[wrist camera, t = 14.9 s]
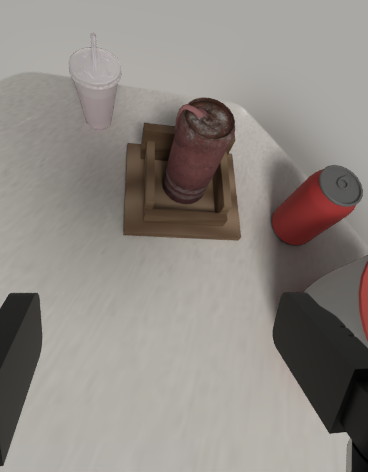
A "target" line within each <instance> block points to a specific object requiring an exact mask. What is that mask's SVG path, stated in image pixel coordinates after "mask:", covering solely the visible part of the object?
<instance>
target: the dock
mask: <svg viewBox="0 0 368 472" xmlns="http://www.w3.org/2000/svg"><path fill="white" fill-rule="evenodd" d="M175 132H176V130H175V126H167V125H158V124H150V123H144V128H143V136H142V144H132V143H128V145H127V167H126V190H125V212H124V235H133V236H154V237H176V238H197V239H218V240H239V239H240V238H241V233H240V223H239V214H238V205H237V195H236V186H235V177H234V168H233V158H232V154H228V153H229V151H230V150H231V148H232V146H233V144H234V142H235V134H234V136H233V138H232V140H231V142H230V144H229V146H228V148H227V150H226V152H225V154H224V156H223V158H222V160H221V162H220V164H219V166H218V168H217V170H216V171H215V173H214V175H213V177H212V179H211V181H210V183H209V185H208V187H207V189H206V191H205V193H204V195H203V196H202V198H201V199H200V200H198V201H197V202H195V203H192V204H181V203H177V202H175V201H173V200H172V199H170V198H169V197H168V195H167V194H166V193H165V191H164V189H163V179H164V174H165V171H166V167H167V163H168V159H169V155H170V151H171V148H172V144H173V140H174V136H175Z"/></svg>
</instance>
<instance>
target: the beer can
mask: <svg viewBox="0 0 368 472" xmlns="http://www.w3.org/2000/svg"><path fill="white" fill-rule="evenodd" d="M362 194H363V189H362V185H361V183H360V181H359V180H358V178H357V177H356V176H355V174H354V173H353V172H351V171H350V170H348V169H347V168H344V167H342V166H337V165H332V166H328V167H326V168H325V169H323V170H320V171H318V172H316V173H314V174H313V175H311V176H310V177H309V178H308V179H307V180H306V181H305V182H304V183H303V184H302V185H301V186H300V187H299V188H298V189H297V190H296V191H295V192H293V193H292V194H291V195H290V196H289V197H288V198H287V199H286V200H285V201H284V202H283V203H282V204H281V205H280V206H279V207H278V208H277V209H276V211H275V212H274V214H273V218H272V225H273V228H274V231H275V233H276V234H277V235H278V237H279V238H280V239H282V240H283V241H284V242H286V243H289V244H291V245H302V244H305V243H307V242H308V241H310V240H311V239H313V238H314V237H316V236H317V235H319V234H320V233H322V232H323V231H325V230H326V229H328V228H329V227H331V226H332V225H334V224H336V223H337V222H339V221H340V220H342V219H343V218H345V217H346V216H347V215H349V214H350V213H351V212H352V211H353V210H354V208H355V206H356V204H357V203H359V202H360V200H361V199H362V196H363V195H362Z"/></svg>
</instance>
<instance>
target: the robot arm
mask: <svg viewBox="0 0 368 472" xmlns="http://www.w3.org/2000/svg"><path fill="white" fill-rule="evenodd" d="M273 340H274V344H275V346H276V348H277V350H278V351H279V353H280V355H281V356H282V358H283V359H284V361H285V363H286V364H287V366H288V368H289V369H290V371H291V372H292V374H293V376H294V377H295V379H296V380H297V382H298V384H299V385H300V387H301V388H302V390H303V392H304V393H305V395H306V397H307V398H308V400H309V401H310V403H311V405H312V406H313V408H314V409H315V411H316V413H317V414H318V416H319V417H320V419H321V421H322V422H323V424H324V425H325V427H326V429H327V430H328V432H329V434H331V433H340V432H347V433H348V435H349V436H350V439H349V441H348V444H347V455H346V472H368V348H367V347H366V346H365V345H364V344H363V343H362V342H361V341H360V340H359V339H358V338H357V337H355V336H354V334H353V333H352V332H351V331H350V330H349V329H348V328H346V326H345V325H344V324H343V322H342V321H341V320H340V319H339V318H338V317H337V316H336V315H334V314H332V313H331V312H329V311H328V310H326V309H324V308H323V307H321V306H320V305H319V304H318V303H317V302H316V301H315V300H314V299H313V298H312V297H311V296H310V295H309V294H308V293H305V292H286V293H284V294H283V295H282V296H281V299H280V303H279V307H278V311H277V315H276V319H275V323H274V327H273ZM41 347H42V325H41V311H40V299H39V295H38V293H10V294H9V295H8V297H7V298H6V300H5V302H4V303H3V305H2V307H1V308H0V466H3V465H4V462H5V459H6V456H7V453H8V450H9V447H10V444H11V441H12V438H13V435H14V432H15V429H16V426H17V423H18V420H19V417H20V414H21V411H22V408H23V405H24V402H25V399H26V396H27V393H28V390H29V387H30V384H31V381H32V378H33V375H34V372H35V369H36V366H37V363H38V360H39V357H40V353H41Z"/></svg>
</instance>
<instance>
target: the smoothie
mask: <svg viewBox="0 0 368 472" xmlns="http://www.w3.org/2000/svg"><path fill="white" fill-rule="evenodd" d="M69 72H70V74H71V77H72V78H73V79H74V81H75V84H76V87H77V91H78V94H79V98H80V101H81V105H82V108H83V112H84V115H85V118H86V122H87V124H88V125H89V126H90V127H92V128H94V129H98V130H101V129H105V128H107V127H108V126H109V125H110V124H111V119H112V113H113V107H114V101H115V95H116V89H117V83H118V82H119V80H120V78H121V65H120V62H119V60H118V59H117V58H116V57H115V56H114V55H113V54H112V53H110V52H108V51H106V50H104V49H101V48H96V35H95V34H94V33H91V47H88V48H83V49H80V50H78V51H76V52H75V53H73V55H72V56H71V57H70V60H69Z"/></svg>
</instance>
